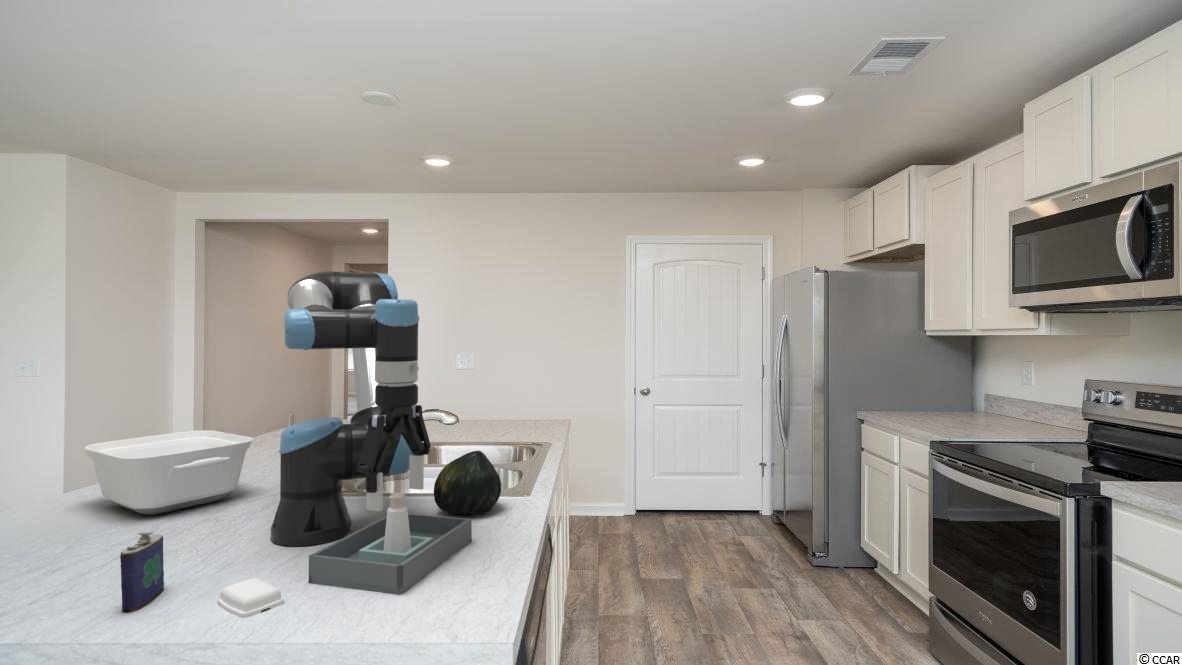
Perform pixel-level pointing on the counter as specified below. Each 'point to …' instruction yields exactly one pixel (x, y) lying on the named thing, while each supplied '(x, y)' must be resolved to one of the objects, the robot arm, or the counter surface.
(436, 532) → the bin
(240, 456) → the white plastic tub
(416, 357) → the robot arm
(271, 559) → the counter surface
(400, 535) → the salt shaker
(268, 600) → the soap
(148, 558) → the flask
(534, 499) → the counter surface
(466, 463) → the squash
